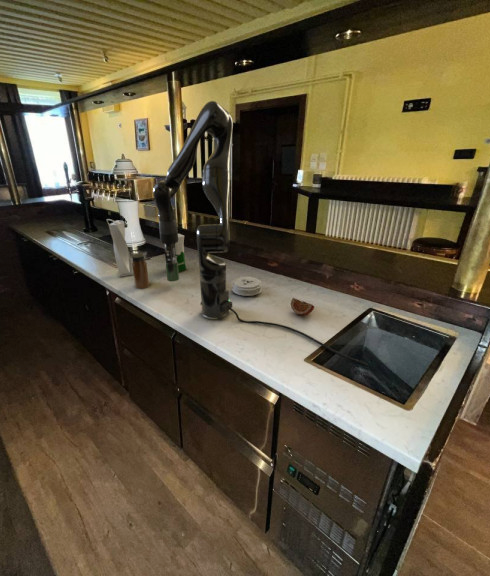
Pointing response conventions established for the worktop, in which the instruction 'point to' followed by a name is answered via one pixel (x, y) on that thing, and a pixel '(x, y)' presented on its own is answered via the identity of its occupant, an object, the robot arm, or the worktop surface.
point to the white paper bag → (121, 248)
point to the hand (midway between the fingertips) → (172, 268)
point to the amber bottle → (140, 271)
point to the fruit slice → (301, 307)
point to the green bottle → (175, 274)
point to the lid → (247, 286)
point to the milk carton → (180, 253)
